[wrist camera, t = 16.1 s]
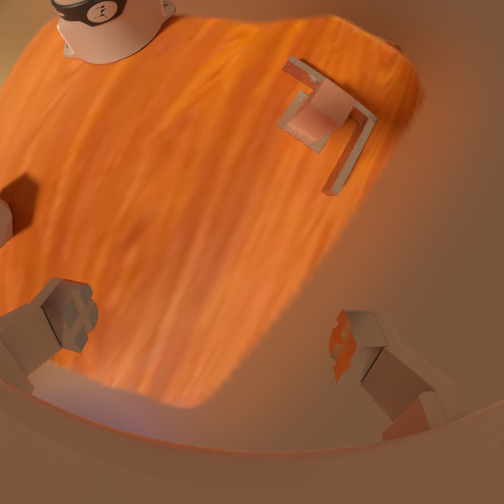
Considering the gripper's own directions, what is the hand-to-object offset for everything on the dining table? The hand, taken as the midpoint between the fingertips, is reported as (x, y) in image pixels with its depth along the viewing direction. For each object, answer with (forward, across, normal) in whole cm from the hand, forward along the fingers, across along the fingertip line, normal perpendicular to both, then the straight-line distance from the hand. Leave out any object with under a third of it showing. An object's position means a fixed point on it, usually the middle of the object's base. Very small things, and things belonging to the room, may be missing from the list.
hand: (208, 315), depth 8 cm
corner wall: (+33, -8, -5) cm, 34 cm away
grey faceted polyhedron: (+21, +37, +8) cm, 43 cm away
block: (+33, -8, -5) cm, 34 cm away
